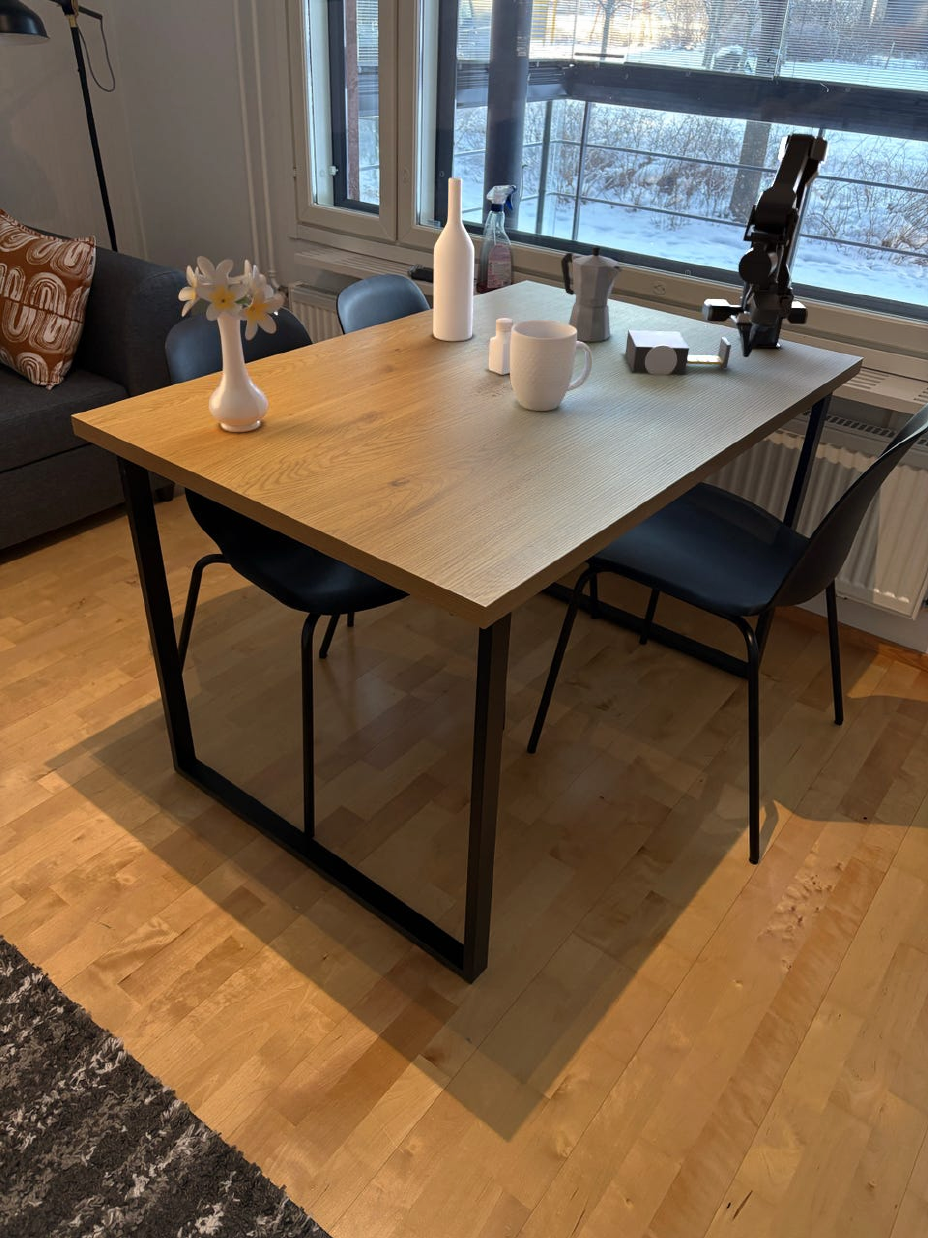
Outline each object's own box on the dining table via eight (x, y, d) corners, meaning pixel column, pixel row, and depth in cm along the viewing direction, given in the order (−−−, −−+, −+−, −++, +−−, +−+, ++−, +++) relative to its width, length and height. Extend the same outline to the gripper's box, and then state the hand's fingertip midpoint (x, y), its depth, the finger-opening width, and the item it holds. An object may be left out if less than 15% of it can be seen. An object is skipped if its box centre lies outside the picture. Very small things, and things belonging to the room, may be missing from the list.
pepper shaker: (501, 376, 169) (504, 324, 164) (487, 370, 172) (489, 319, 167) (517, 371, 172) (520, 321, 166) (502, 366, 174) (505, 316, 169)
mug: (573, 389, 164) (580, 316, 157) (601, 410, 156) (610, 333, 149) (497, 397, 160) (501, 322, 153) (522, 419, 151) (527, 340, 144)
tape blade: (721, 360, 179) (725, 337, 177) (726, 368, 175) (731, 344, 173) (672, 358, 179) (675, 335, 177) (676, 367, 175) (680, 343, 173)
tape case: (674, 358, 182) (679, 328, 179) (684, 377, 173) (690, 345, 170) (624, 357, 182) (628, 327, 179) (632, 375, 173) (636, 344, 170)
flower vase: (255, 452, 137) (237, 281, 123) (175, 423, 146) (149, 260, 132) (315, 427, 146) (304, 265, 132) (236, 401, 155) (218, 246, 141)
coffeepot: (626, 338, 192) (637, 248, 182) (598, 347, 186) (608, 254, 176) (570, 322, 201) (578, 235, 191) (542, 330, 195) (548, 241, 185)
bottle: (425, 336, 189) (426, 178, 172) (448, 328, 195) (450, 173, 178) (457, 343, 185) (460, 182, 169) (479, 335, 191) (484, 178, 174)
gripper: (722, 281, 161) (706, 368, 170) (826, 284, 161) (805, 371, 170) (708, 267, 170) (694, 350, 179) (807, 270, 170) (788, 353, 179)
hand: (745, 356), depth 176 cm, fingers closed
